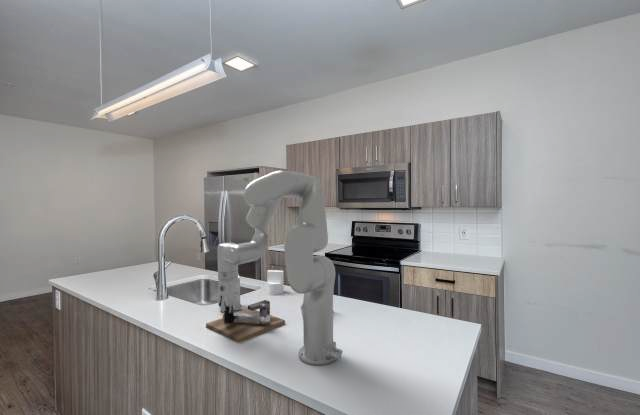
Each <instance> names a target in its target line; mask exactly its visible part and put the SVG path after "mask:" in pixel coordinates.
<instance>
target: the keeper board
mask: <svg viewBox="0 0 640 415" xmlns="http://www.w3.org/2000/svg"><path fill="white" fill-rule="evenodd" d="M270 302H271V301H270V300H267V299H264V300H261V301H258V302H255V303H251V304H248V305H247V309H246V310H242V311H240V312H238V313H245V314H261V315H262V308H261V307H260V305H261V304H263V303H268V304H269V307H267V314H269V315H270V323H269V324H266V325H261V324H256V323H241V322H232V323H225V322H223V317H222V318H218V319H215V320H212V321H210V322H206V323H205V327H206V328H207V329H208V330H211V331H213V332H215V333H217V334H219V335H221V336H224V337H225V338H228V339H230V340H232V341H233V342H235V343H238V344H241V343H244V342H246V341H248V340H250V339H252V338H255V337H257V336H260V335H262V334H265V333H266V332H269V331H271V330H273V329H276V328H279V327H281V326H283V325H285V324H286V320H285V319H283V318H279V317H277V316H275V315H271V305H270V304H271V303H270ZM258 309H259V310H258Z"/></svg>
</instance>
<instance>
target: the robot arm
mask: <svg viewBox="0 0 640 415" xmlns="http://www.w3.org/2000/svg"><path fill="white" fill-rule="evenodd" d="M246 185H247V186H246V187H245V188H244V191H243V199H244V201H245V204H247V205H248V206H250V208H249V211H248V213H247V214H246V217H245V221H246V223H247V224H248V225H249V226H250V227H251V228H253V229H255V232H254V234H253V236H252V238H251V240H250V241H249V242H242V243H236V242H223V243H219V244H218V245H217V248H216V249H217V250H216V251H217V281H218V286H217V305H218V307H221V311H223V312H222V313H223V314H224V322H225V323H232V322H233V321H234V313H235V310H234V305H235V303H237V302H238V301H239V300H240V301H241V286H240V287H239V279H238V274H239V265H243V264H248V263H250V262H255V261H258V260H259V259H260V258H262V256H263V254H264V252H265V250H266V249H267V248H268V247H267V246H268V245H269V241H270V231H269V226H270V224H271V221H272V219H273V218H274V215H275V213H276V212H277V209H278V207H279V205H280V203H281V202H282V198H286V199H293V198H294V199H300V203H299V206H298V207H299V208H298V215H299V223H298V224H294V225H292V226H291V227H290V228H288V229H287V231H286V233H285V235H284V241H283V247H284V248H283V249H284V261H285V272H286V277H287V282H288V285H289V286H290V287H291V289H292V291H294V292H295V293H296V294H300V295H303V300H302V303H303V317H302V326H303V346H302V347H301V348H300V349H299V350H298V358H299V359H300V361H302V362H304V363H305V364H309V365H314V366H315V365H317V366H321V365H327V364H331V363H333V362H334V361H340V360H341V358H342V354H343V350H342V349H341V348H338V347H337V342H336V341H335V340H334V313H333V311H334V289H335V288H334V287H335V280H336V267H335V264H334V263H333V261H332V259H330V258H329V257H327V256H325V255H316V256H314V254H315V253H319V252H321V251H323V250H324V249H325V248H326V247H327V246H328V244H329V232H328V226H327V225H328V223H327V215H326V207H325V204H326V203H325V191H324V186H323V185H322V183H321V181H320V180H319V179H318V178H316V177H315V176H313V175H311V174H307V173H303V172H297V171H290V170H289V171H288V170H276V171H273V172H270V173H268V174H266V175H264V176H262V177H259V178H257V179H254V180H252V181H250V182H249V184H246Z"/></svg>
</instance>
